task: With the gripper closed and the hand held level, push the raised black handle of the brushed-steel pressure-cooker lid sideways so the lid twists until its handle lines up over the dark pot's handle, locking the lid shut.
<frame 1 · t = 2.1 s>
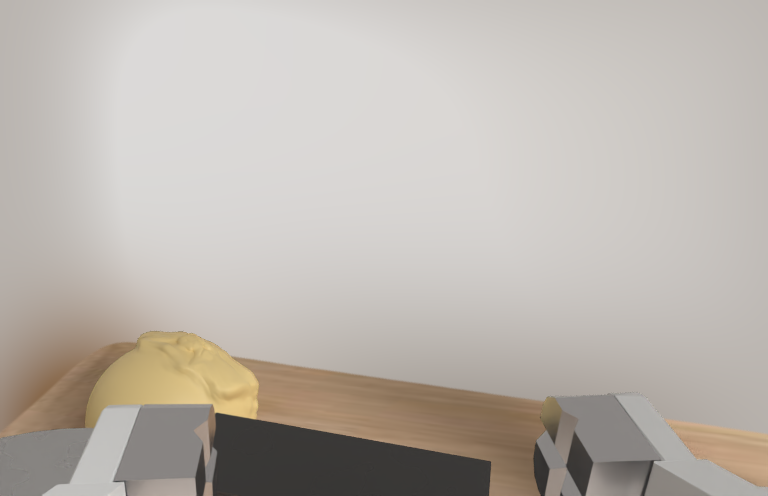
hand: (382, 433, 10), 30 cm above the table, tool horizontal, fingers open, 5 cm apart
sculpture: (176, 464, 51), on the table
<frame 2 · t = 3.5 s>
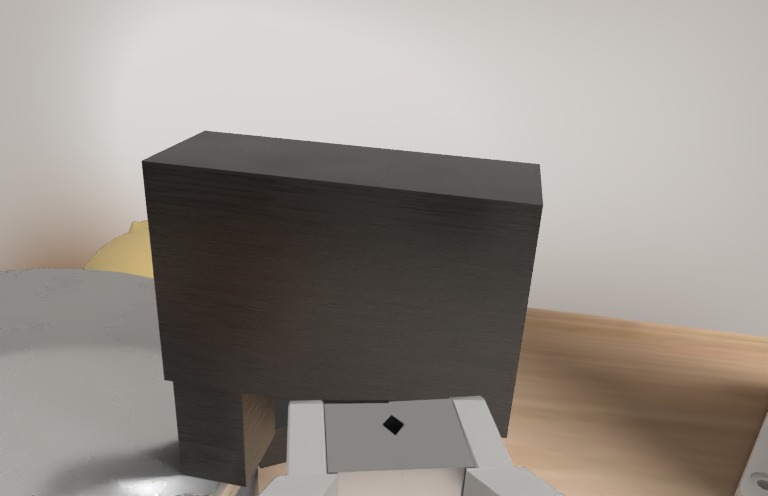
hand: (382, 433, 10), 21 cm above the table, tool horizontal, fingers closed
cooker lid: (30, 305, 19), point 18 cm above the table, hinge at -35.0°
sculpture: (172, 362, 48), on the table
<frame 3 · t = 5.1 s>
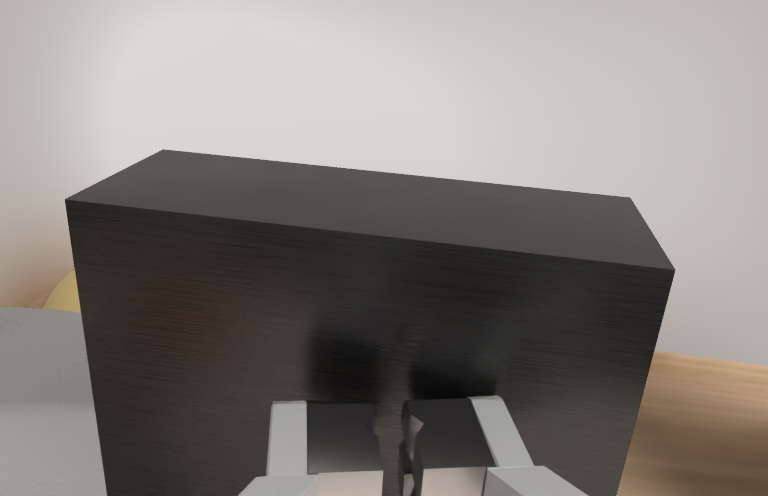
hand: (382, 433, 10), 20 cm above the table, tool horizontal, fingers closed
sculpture: (152, 398, 42), on the table
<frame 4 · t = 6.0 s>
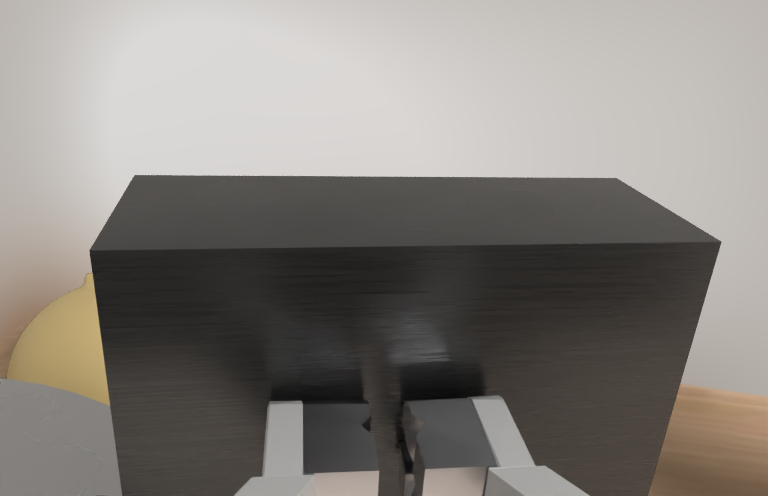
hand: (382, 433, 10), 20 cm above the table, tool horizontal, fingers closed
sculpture: (138, 446, 38), on the table
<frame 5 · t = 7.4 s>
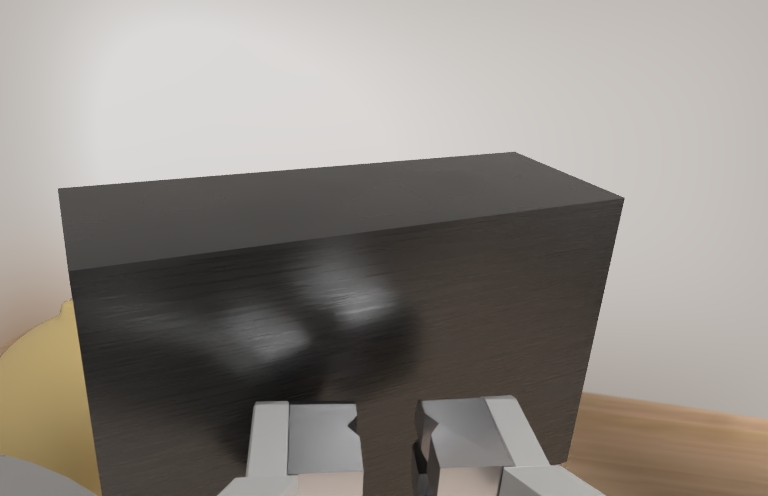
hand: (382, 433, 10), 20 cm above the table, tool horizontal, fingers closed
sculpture: (121, 487, 35), on the table
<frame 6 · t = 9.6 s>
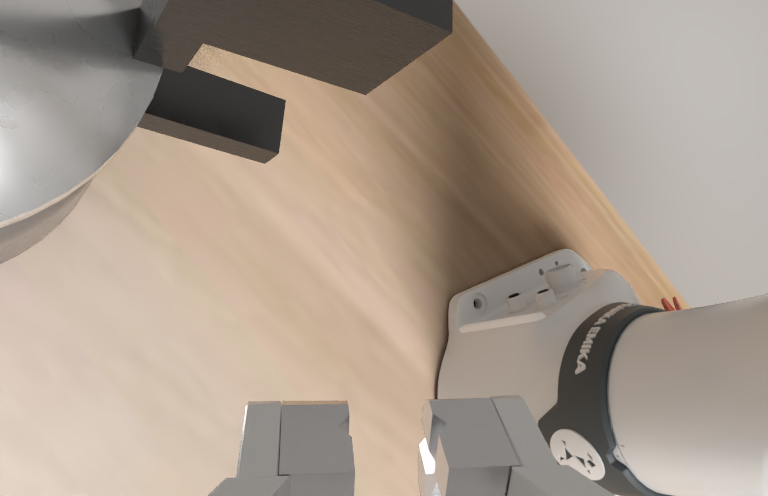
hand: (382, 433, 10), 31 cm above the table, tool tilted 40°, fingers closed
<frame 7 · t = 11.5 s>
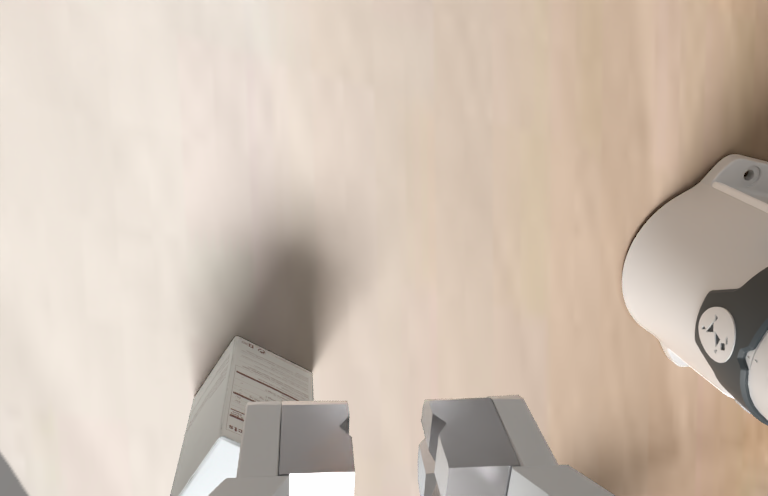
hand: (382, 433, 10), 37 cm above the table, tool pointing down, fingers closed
supplement box: (254, 383, 53), on the table
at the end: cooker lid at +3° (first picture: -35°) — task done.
